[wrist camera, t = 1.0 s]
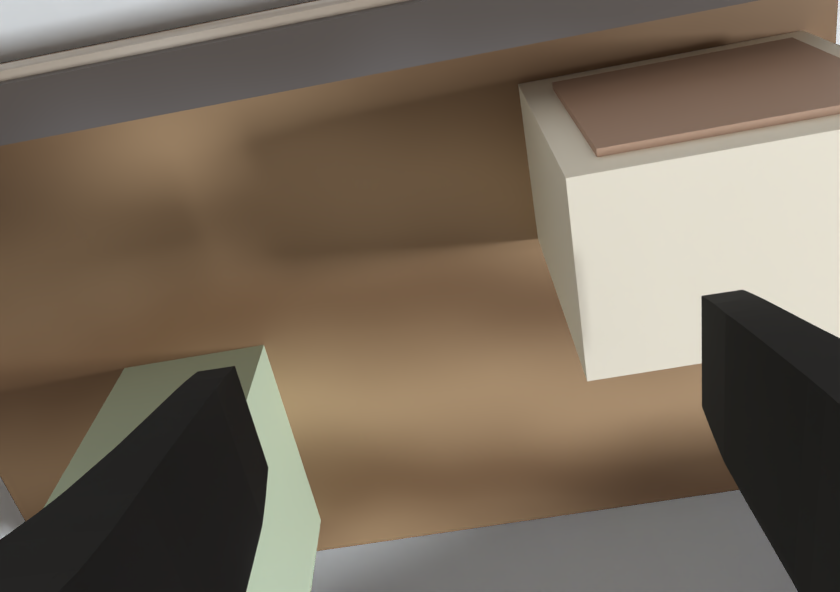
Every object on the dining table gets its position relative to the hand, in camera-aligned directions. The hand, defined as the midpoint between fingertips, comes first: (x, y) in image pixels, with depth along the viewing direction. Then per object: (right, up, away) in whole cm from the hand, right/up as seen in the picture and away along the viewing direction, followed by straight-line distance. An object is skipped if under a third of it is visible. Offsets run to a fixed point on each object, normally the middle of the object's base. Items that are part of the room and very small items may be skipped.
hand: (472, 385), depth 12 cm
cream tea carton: (+5, +5, +7) cm, 10 cm away
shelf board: (-2, +1, +10) cm, 11 cm away
